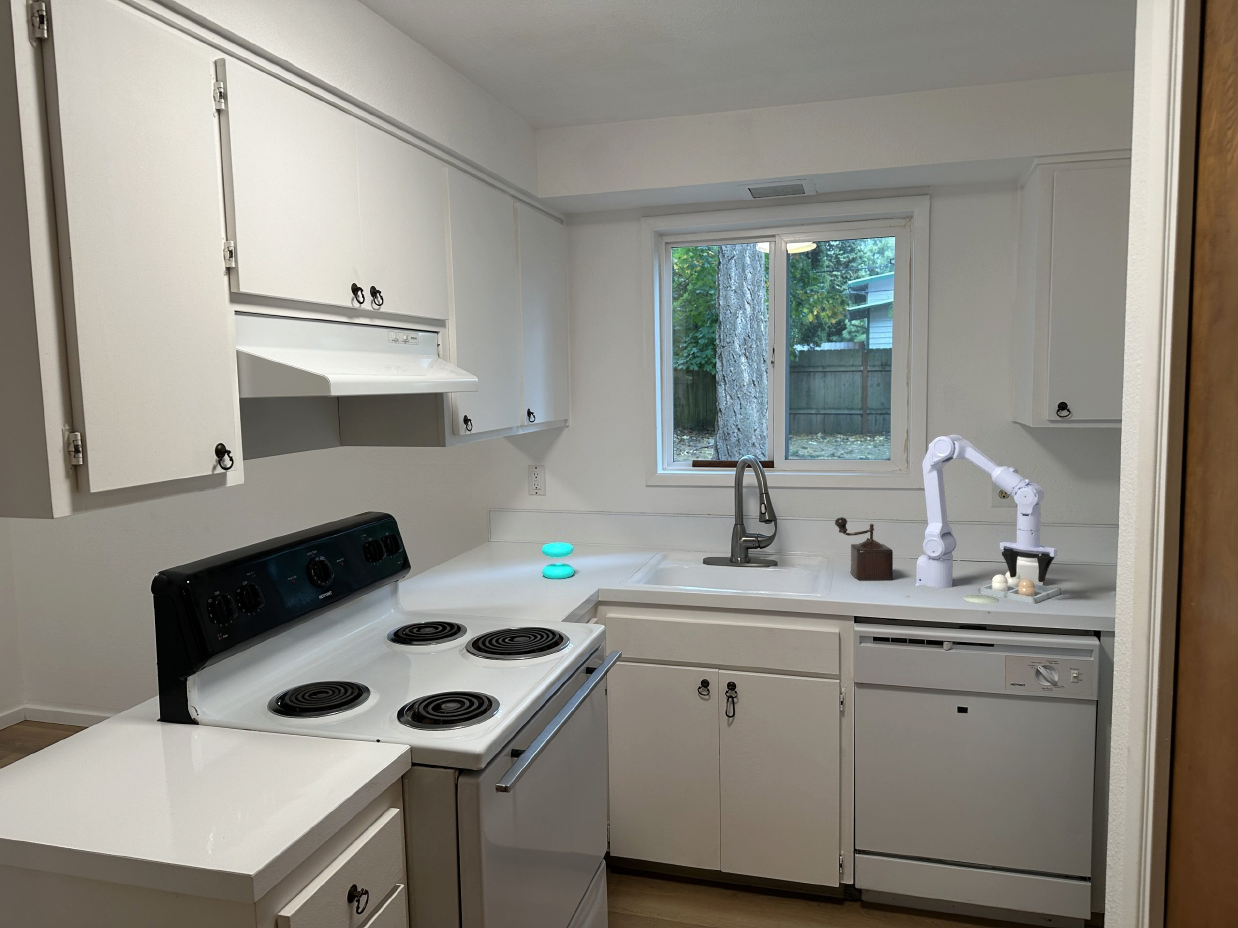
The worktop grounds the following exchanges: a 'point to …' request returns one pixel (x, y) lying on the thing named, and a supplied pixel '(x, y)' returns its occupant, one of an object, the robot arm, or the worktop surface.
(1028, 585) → the egg brown
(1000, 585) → the egg white front
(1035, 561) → the medicine bottle
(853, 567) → the manual coffee grinder
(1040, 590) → the carton
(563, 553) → the cyan oval discs
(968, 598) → the saucer
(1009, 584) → the egg white back
